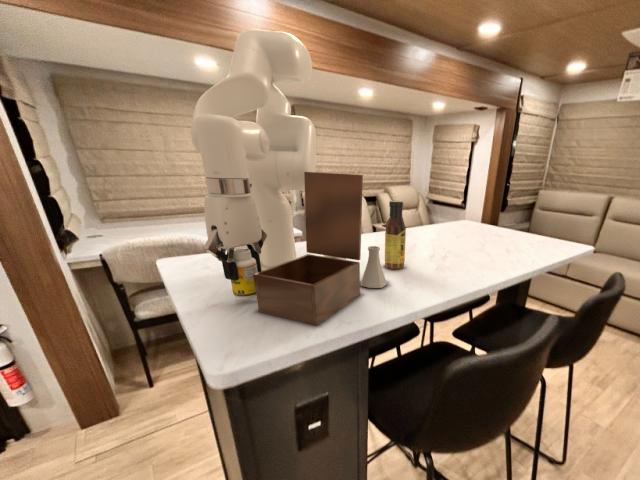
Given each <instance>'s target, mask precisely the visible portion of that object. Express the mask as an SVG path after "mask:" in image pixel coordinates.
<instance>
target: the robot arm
mask: <svg viewBox="0 0 640 480" xmlns="http://www.w3.org/2000/svg"><path fill="white" fill-rule="evenodd" d="M312 77H313V61H312V58H311V54H310V52H309V50H308V48H307V47H306V45H305V44H304V43H303V42H301V40H299V39H298V37H296V36H295V35H293V34H291V33H288V32H285V31H278V30H277V31H276V30H275V31H274V30H262V29H245V30H243V31H241V32H240V33H239V34H238V36H237V37H236V39H235V44H234V47H233V52H232V57H231V61H230V66H229V69H228V75H227V76H226V77H224V78H222V79H221V80H219V81H218V82H216V83H215V84H214V85H212V86H211V87H209V89H207V90H206V91H205V92H204V93H202V95H201V96H200V97H199V98H198V99H197V101H196V104H195V107H194V111H193V113H192V114H193V115H192V118H191V122H190V123H191V125H190V137H191V142H192V144H193V147H194V149H195V150H196V151H197V152H198V154H199V155H200V157H201V163H202V168H203V173H204V178H205V183H206V189H207V193H208V195H205V196H204V222H205V228H206V229H205V230H206V236H207V240H206V242H205V244H204V246H203V250H204V251H206V252H207V253H209V254H210V255H212V256H213V257H214V258H216V259H217V260H218V261H219V262H221V263H222V269H223V274H224V277H225V279H226V280H230V281H231V280H235V281H236V280H238V279H239V276H238V270H237V265H236V262H233V256H234V249H236V248H239V247H243V246H244V247H245V249H249V250H250V251H251V257H252V258H254V259H255V260H256V264H257V270H258V272H261V271H263V270H266V269H269V268H272V267H274V266H277V265H280V264H282V263H285V262H288V261H290V260H293V259H296V258H297V251H296V242H295V240H296V239H295V232H294V221H293V211H292V210H293V209H292V206H291V203H290V202H289V199H288V198H287V197H286V196H285V195H284V194H283V192H282V191H305V178H304V172H316V168H317V167H316V166H317V150H318V149H317V148H318V146H317V145H318V144H317V143H318V141H317V139H318V138H317V131H316V127H315V124H314V123H313V122H312V120H311V119H310V118H308V117H306V116H303V115H291V114H292V105H291V104H290V101H289V100H288V99H287V97H286V96H285V94H284V93H283V92H282V91H281V90H280V89H279V88H278V87H277V86H276V85H275V84H274V83H279V84H280V83H281V84H296V85H306V84H308V83H309V82H311V79H312ZM254 111H256V118H255V122H254V121H249V120H237V119H236V117H238V116H242V115H245V114H249V113H252V112H254ZM217 247H218V248H217Z"/></svg>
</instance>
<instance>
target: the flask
mask: <svg viewBox="0 0 640 480" xmlns="http://www.w3.org/2000/svg"><path fill="white" fill-rule="evenodd" d="M380 250H381V247H380V246H376V245H370V246H367V251H368V258H367V261H366V262H367V263H366V266H365V268H364V272H363V275H362V277H361V279H360V287H365V288H368V289H381V288H384V287H385V286H387V285H388V284H387V280H386V276H385V274H384V271H383V268H382V264H381V261H380V260H381V259H380Z"/></svg>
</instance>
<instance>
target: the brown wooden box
mask: <svg viewBox="0 0 640 480" xmlns="http://www.w3.org/2000/svg"><path fill="white" fill-rule="evenodd" d="M360 264H361V263H360V261H356V260H349V259H346V260H342V259H336V258H329V257H324V255H317V254H311V253H308V254H304V255H301V256H299V257H296V259H293V260H290V261H288V262H285V263H282V264H280V265H277V266H274V267H272V268H269V269H266V270H263V271H261V272H258V273H255V274H253V277H254V283H255V290H256V296H255V297H256V302H257V307H258V308H257V309H258V312H259V313H263V314H268V315H271V316H276V317H280V318H284V319H288V320H293V321H296V322H301V323H305V324H309V325H313V326H319V325H321V324H322V323H323V322H325V321H326V320H327V319H329V318H330V317H332V316H333V315H334V314H336V313H337V312H338V311H340V310H341V309H343V308H344V307H345V306H347V305H348V304H350V303H351V302H353V301H354V300H355V299H356V298H358V297H359V296H360V295H361V269H360V266H361V265H360Z"/></svg>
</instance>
